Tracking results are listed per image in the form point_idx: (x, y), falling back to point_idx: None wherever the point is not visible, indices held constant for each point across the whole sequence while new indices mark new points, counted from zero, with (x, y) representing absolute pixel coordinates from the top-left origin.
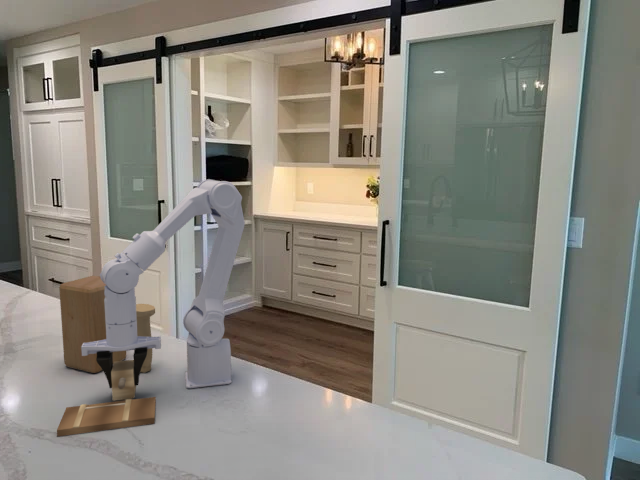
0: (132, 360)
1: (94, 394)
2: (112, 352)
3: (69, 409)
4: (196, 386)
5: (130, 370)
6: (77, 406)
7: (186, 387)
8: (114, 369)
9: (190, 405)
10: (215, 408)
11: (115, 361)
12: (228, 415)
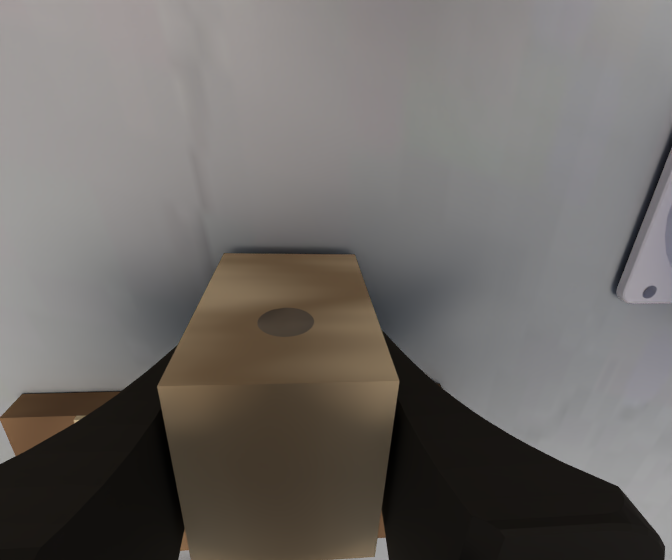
0: (371, 395)
1: (92, 221)
2: (83, 528)
3: (30, 439)
4: (667, 302)
5: (352, 553)
6: (60, 418)
7: (617, 293)
8: (211, 535)
9: (567, 429)
10: (640, 462)
11: (174, 387)
12: (654, 503)
